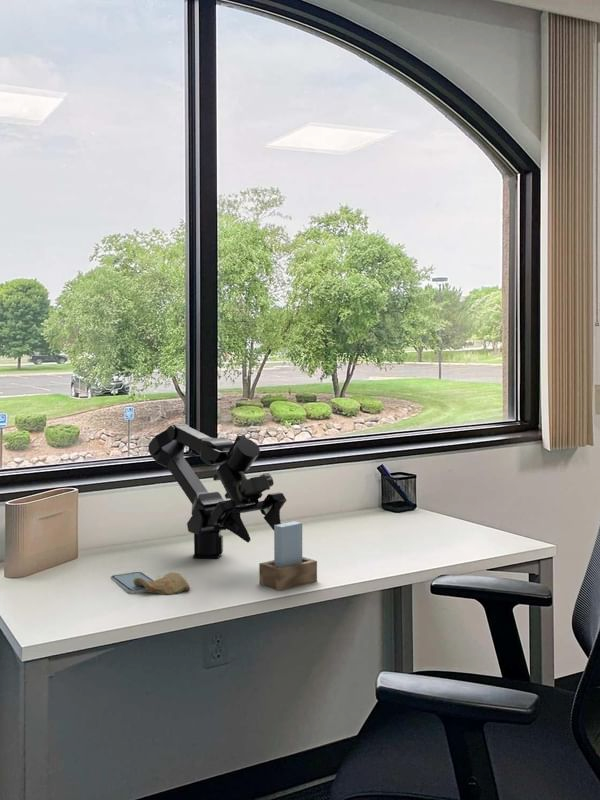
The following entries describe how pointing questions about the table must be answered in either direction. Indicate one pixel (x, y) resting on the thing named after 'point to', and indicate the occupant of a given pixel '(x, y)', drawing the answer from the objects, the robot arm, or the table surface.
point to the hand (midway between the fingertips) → (265, 538)
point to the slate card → (287, 544)
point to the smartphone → (131, 582)
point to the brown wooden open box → (287, 574)
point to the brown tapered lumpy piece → (164, 584)
